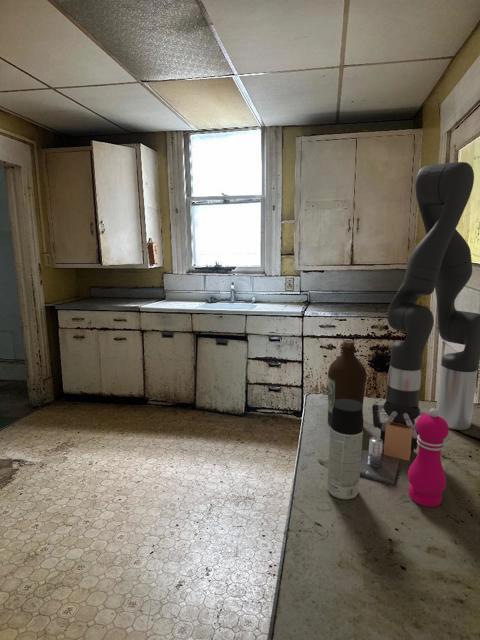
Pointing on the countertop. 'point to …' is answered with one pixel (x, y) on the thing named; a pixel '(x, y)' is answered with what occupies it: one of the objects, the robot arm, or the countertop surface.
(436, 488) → the pepper mill
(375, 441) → the flange
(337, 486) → the spray can
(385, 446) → the duct sleeve
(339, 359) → the olive oil
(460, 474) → the countertop surface
